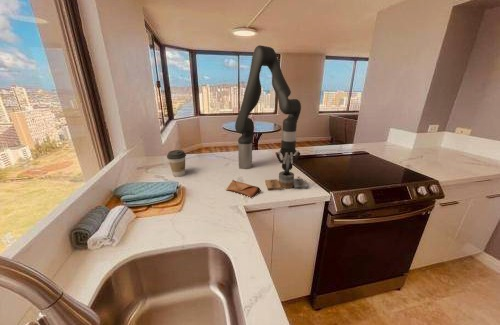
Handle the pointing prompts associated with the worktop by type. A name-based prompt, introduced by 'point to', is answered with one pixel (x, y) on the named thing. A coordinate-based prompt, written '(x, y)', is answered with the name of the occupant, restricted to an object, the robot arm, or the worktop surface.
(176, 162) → the coffee cup
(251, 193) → the sunglasses case
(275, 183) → the hinge leaves
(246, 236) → the worktop surface
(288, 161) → the hinge pin
